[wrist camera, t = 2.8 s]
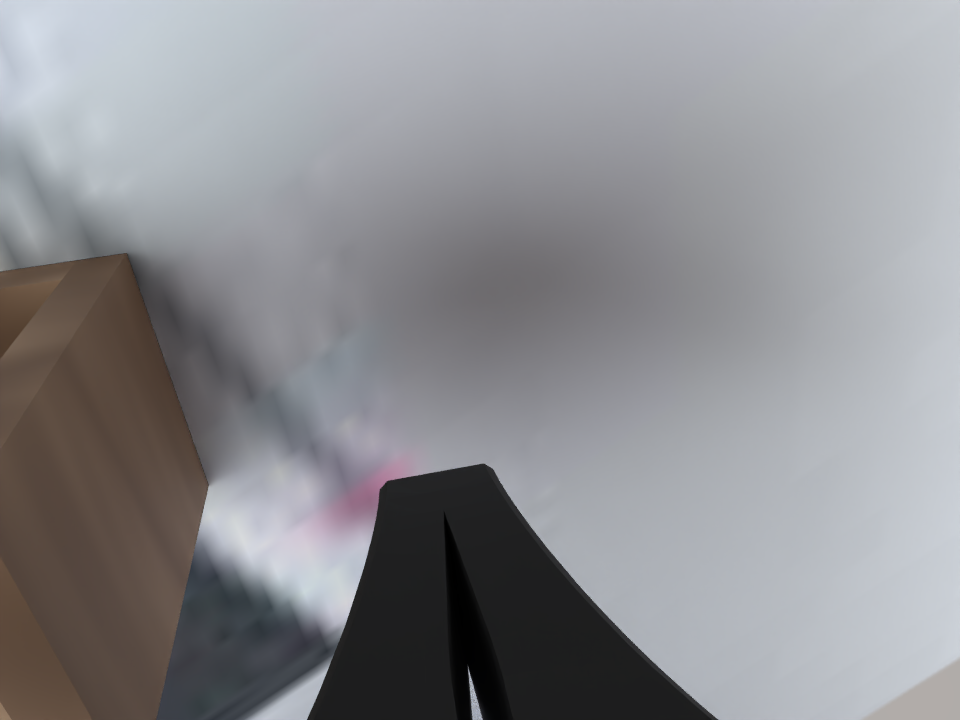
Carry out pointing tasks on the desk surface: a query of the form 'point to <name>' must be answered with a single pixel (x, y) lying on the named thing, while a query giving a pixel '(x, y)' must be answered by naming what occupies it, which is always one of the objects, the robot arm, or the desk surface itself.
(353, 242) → the desk surface
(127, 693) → the open wooden box
